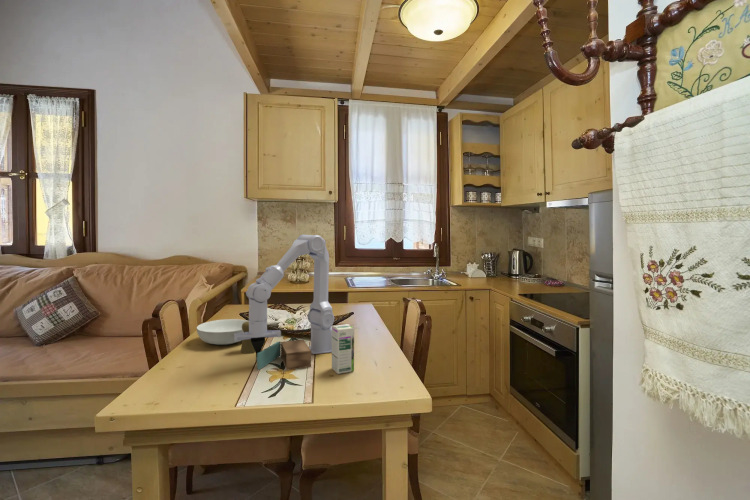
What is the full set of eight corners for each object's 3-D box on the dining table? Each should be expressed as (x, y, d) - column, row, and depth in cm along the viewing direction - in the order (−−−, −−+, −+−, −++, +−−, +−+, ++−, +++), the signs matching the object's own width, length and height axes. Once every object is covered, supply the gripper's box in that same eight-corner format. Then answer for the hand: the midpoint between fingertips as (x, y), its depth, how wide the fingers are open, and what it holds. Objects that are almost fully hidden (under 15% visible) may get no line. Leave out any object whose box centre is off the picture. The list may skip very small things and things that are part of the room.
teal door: (280, 355, 128) (280, 341, 128) (260, 369, 116) (260, 353, 115) (275, 355, 129) (275, 340, 129) (254, 369, 116) (254, 353, 116)
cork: (252, 354, 130) (252, 324, 130) (237, 353, 131) (237, 323, 131) (260, 349, 136) (260, 320, 135) (246, 347, 137) (246, 319, 137)
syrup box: (337, 374, 114) (338, 329, 113) (331, 368, 119) (331, 324, 118) (354, 371, 116) (354, 327, 115) (347, 365, 121) (347, 323, 121)
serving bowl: (259, 344, 142) (259, 327, 141) (201, 354, 130) (201, 335, 130) (245, 331, 159) (245, 316, 158) (193, 339, 147) (192, 322, 147)
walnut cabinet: (303, 354, 131) (303, 339, 131) (311, 366, 120) (311, 350, 119) (280, 356, 128) (280, 341, 128) (286, 369, 117) (286, 353, 116)
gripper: (278, 315, 125) (278, 353, 126) (234, 318, 120) (234, 358, 120) (281, 320, 119) (281, 360, 119) (234, 323, 113) (234, 365, 114)
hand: (257, 359), depth 119 cm, fingers closed
